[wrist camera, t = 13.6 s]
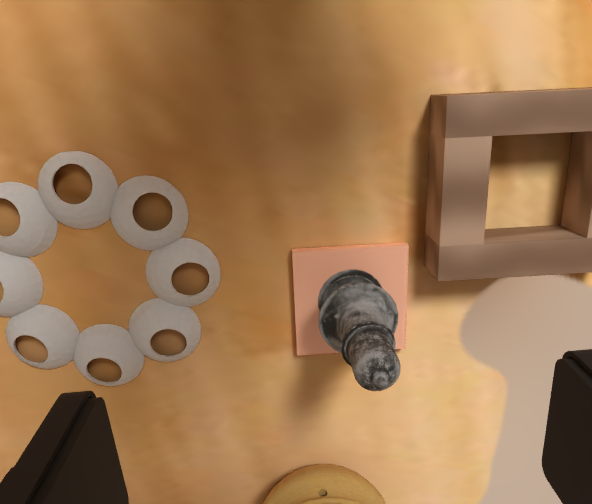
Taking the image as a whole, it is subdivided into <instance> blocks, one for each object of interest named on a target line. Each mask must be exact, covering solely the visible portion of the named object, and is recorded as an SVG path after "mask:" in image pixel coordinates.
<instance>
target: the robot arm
mask: <svg viewBox="0 0 592 504" xmlns="http://www.w3.org/2000/svg"><path fill="white" fill-rule="evenodd" d="M542 467H543V471H544V474H545V477H546V478H547V480H548V482H549V483H550V485H551V486H552V488H553V489H554V491H555V492H556V494H557V495H558V497H559V498H560V500H561V502H562V503H563V504H592V349H589V350H577V351H568V352H566V353H565V354H564V355H563V358H562V359H559V360H557V362H556V364H555V370H554V377H553V384H552V391H551V399H550V406H549V413H548V420H547V427H546V434H545V441H544V448H543V455H542ZM0 504H129V501H128V494H127V490H126V486H125V482H124V478H123V474H122V470H121V466H120V461H119V457H118V453H117V449H116V445H115V441H114V437H113V433H112V429H111V425H110V421H109V417H108V413H107V409H106V405H105V402H104V400H103V398H101V397H98V398H96V396H95V394H94V393H93V392H92V391H83V392H71V393H63V394H61V395H60V396H59V397H58V399H57V400H56V402H55V403H54V405H53V407H52V408H51V410H50V411H49V413H48V414H47V416H46V418H45V419H44V421H43V422H42V424H41V425H40V427H39V429H38V430H37V432H36V433H35V435H34V436H33V438H32V440H31V441H30V443H29V444H28V446H27V447H26V449H25V451H24V452H23V454H22V455H21V457H20V458H19V460H18V462H17V463H16V465H15V466H14V467H13V468H11V469H10V471H9V472H8V473H7V474H6V475H5V477H4V479H3V480H2V482H1V483H0Z"/></svg>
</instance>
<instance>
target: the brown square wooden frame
mask: <svg viewBox="0 0 592 504" xmlns="http://www.w3.org/2000/svg"><path fill="white" fill-rule="evenodd" d="M563 132H573V134H572V141H571V149H570V157H569V164H568V172H567V179H566V187H565V195H564V202H563V210H562V218H561V225H554V226H536V227H518V228H500V229H485V221H486V208H487V196H488V184H489V171H490V159H491V147H492V136H503V135H523V134H543V133H563ZM424 266H425V267H426V268H427V269H428V270H429V272H430V273H431V274H432V275H433V276H434V278H435V279H436V280H437V281H454V280H470V279H487V278H504V277H520V276H538V275H555V274H571V273H588V272H592V87H589V88H568V89H547V90H525V91H504V92H483V93H461V94H440V95H431V106H430V130H429V154H428V178H427V202H426V226H425V250H424Z"/></svg>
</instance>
